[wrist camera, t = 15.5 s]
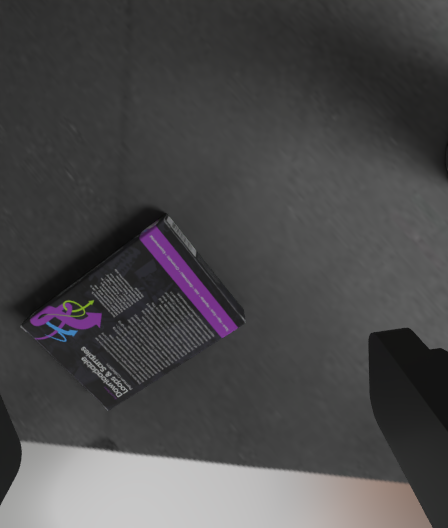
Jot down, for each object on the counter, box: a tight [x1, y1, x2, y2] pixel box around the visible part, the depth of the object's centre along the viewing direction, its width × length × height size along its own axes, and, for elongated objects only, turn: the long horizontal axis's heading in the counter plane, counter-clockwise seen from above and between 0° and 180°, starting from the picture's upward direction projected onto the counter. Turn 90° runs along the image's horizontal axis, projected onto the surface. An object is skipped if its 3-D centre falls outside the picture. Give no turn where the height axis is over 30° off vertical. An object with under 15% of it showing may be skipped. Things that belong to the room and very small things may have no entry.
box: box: [21, 214, 246, 411], centre depth 44 cm, size 14×4×20 cm
